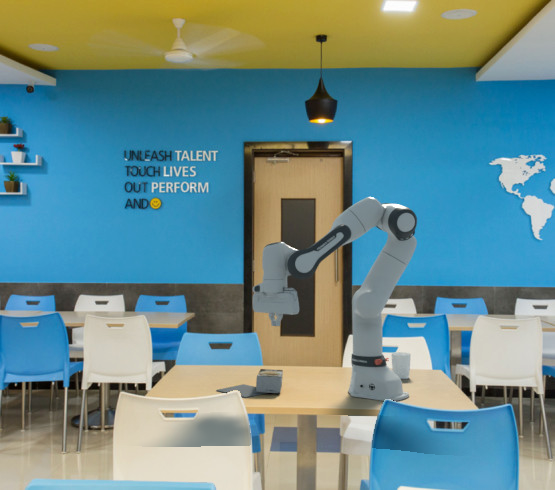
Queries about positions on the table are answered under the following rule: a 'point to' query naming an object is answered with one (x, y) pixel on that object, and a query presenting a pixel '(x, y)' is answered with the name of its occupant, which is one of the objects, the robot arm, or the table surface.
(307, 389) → the table surface
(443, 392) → the table surface
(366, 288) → the robot arm
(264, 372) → the coffee box
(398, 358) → the white cup
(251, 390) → the rubber mat
